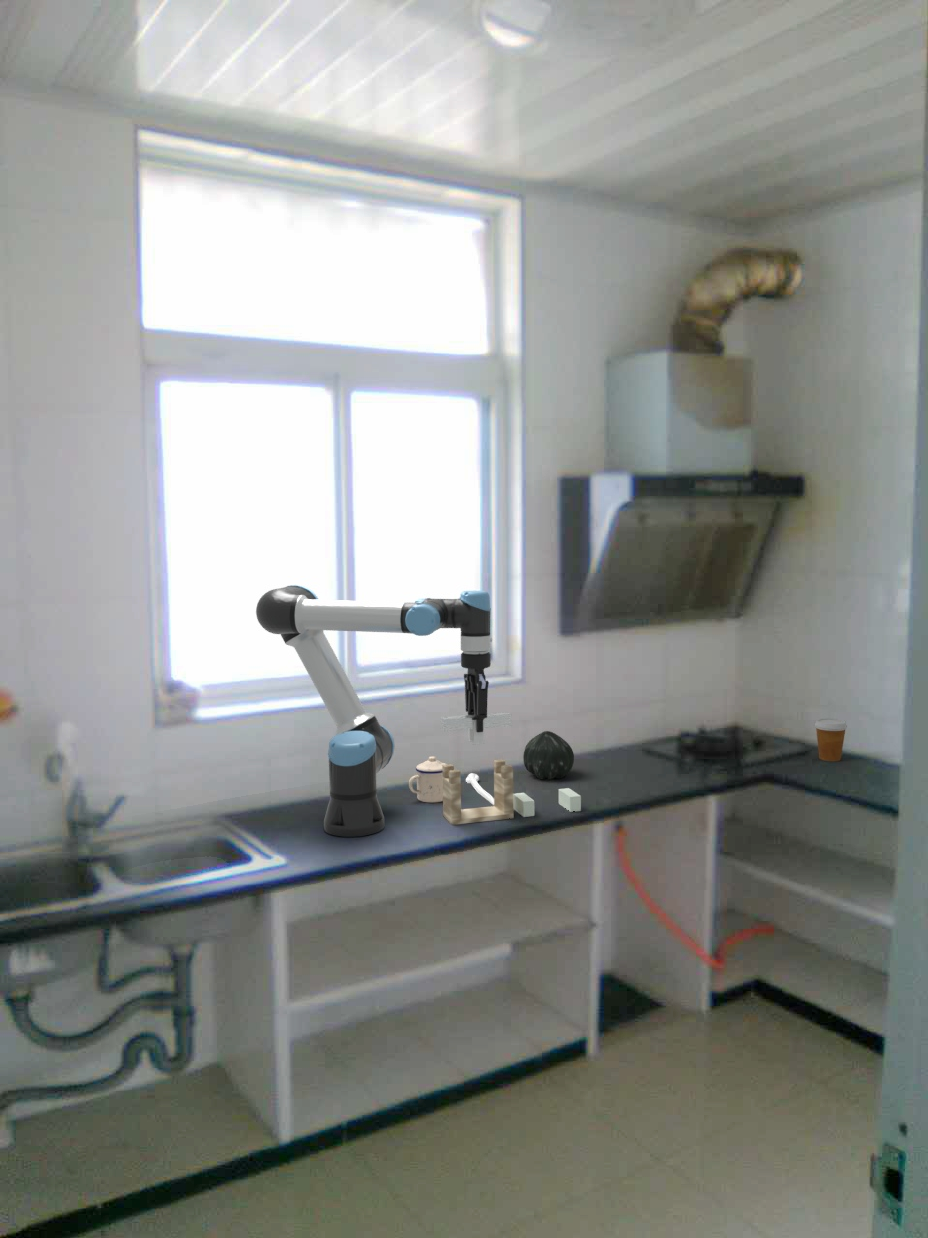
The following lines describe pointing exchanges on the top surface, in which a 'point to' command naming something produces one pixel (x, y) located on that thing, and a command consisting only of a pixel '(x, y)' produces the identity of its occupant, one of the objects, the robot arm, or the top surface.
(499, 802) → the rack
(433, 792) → the teacup with lid
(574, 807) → the rest
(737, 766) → the top surface
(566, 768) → the squash
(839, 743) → the disposable coffee cup
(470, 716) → the rail
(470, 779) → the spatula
